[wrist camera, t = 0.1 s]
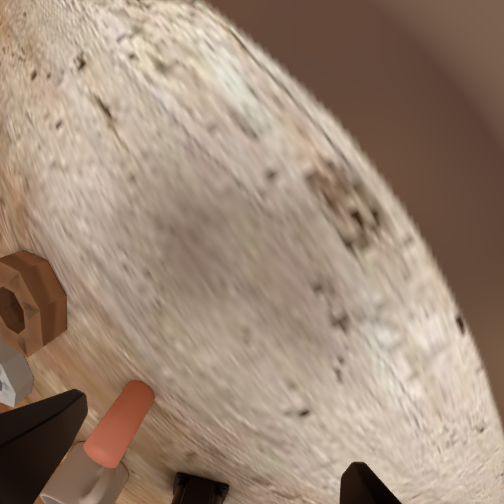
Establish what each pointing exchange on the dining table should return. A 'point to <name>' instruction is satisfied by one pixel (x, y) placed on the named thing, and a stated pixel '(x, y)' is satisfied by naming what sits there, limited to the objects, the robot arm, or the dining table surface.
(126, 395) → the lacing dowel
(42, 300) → the walnut bead
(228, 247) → the dining table surface
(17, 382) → the slate bead
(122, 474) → the mug
